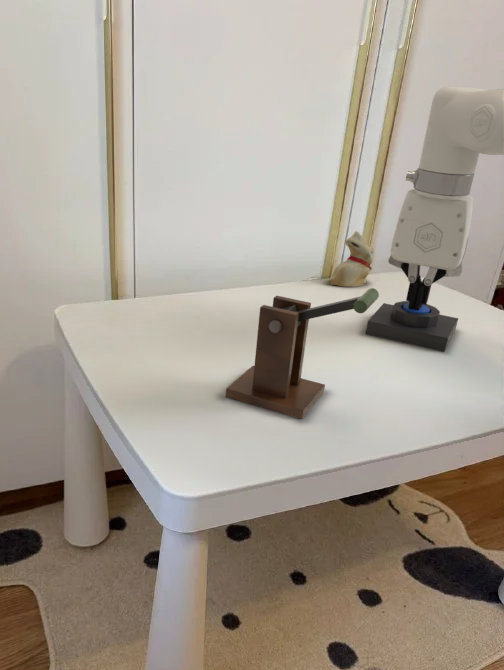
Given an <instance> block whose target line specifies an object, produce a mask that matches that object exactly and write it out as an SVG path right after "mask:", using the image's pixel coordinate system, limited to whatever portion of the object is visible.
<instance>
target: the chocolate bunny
mask: <svg viewBox="0 0 504 670" xmlns="http://www.w3.org/2000/svg"><path fill="white" fill-rule="evenodd" d="M345 245H346V247H348V249H349V252H350V254H349V257H347V259H346V260H345V261H343V262H341V263H339V264H338V265H337V266H335V268H334V270H333V272H332V274H331V276H330V278H329V285H331V286H337V287H343V288H344V287H345V288H346V287H348V288H350V287H352V288H354V287H361V286H364V285H366V284H367V277H368V276H369V273H370V271H372V269H373V268H372V267H371V265H372V264H373V262H374V255H375V250H374V248H373V247H372V246H370V245H368V244H367V242H366V241H365V239H364V237H363V235H361V233H360V232H359V231H357V230H355V231H354V232H353V234H352V235H351V236H350V237H348V238H347V239H346V240H345Z"/></svg>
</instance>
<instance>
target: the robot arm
mask: <svg viewBox="0 0 504 670" xmlns="http://www.w3.org/2000/svg"><path fill="white" fill-rule="evenodd" d="M480 154H482V155H488V156H500V155H504V88H499V89H498V88H497V89H483V88H479V87H477V88H476V87H467V86H443V87H440V88H439V89H437V91H436V92H435V93H434V95H433V98H432V101H431V105H430V110H429V116H428V121H427V125H426V130H425V135H424V141H423V145H422V149H421V154H420V159H419V164H418V168H417V169H416V170H413V171H410V170H408V171H407V173H406V176H405V181H406V182H410V183H412V185H413V189H410V190H407V193H406V194H405V197H404V200H403V202H402V206H401V208H400V211H399V215H398V218H397V222H396V226H395V230H394V233H393V238H392V241H391V247H390V256H389V258H388V264H390V265H392V266H394V267H396V268H398V269H401V271H402V272H403V273H404V275H405V276H406V278H407V281H408V282H409V285H408V290H407V294H406V299H405V301H410V303H409V307H408V308H410V309H412V308H414V309H415V310H419V309H420V308H421V307H422V305H423V304H425V305H426V304H428V302H429V298H430V293H431V288H432V285H433V284H434V283H436V282H438V281H439V280H440V279H443V278H445V277H446V278H449V277H450V278H452V277H460V276H461V275H462V273H463V260H464V257H465V255H466V251H467V247H468V242H469V236H470V231H471V225H472V219H473V208H474V197H473V196H471V195H470V194H471V189H472V185H473V181H474V177H475V173H476V169H477V165H478V162H479V161H478V160H479V156H480ZM421 267H426V268H428V270H427V272H426V275H425V277H424V278H423V280H422V276H421Z"/></svg>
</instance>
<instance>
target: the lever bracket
mask: <svg viewBox="0 0 504 670" xmlns="http://www.w3.org/2000/svg"><path fill="white" fill-rule="evenodd" d="M272 299H273V300H272V306H271V305H266V304H263V305H261V306H260V307H259V316H258V326H257V336H256V345H255V347H256V348H255V355H254V365H251V366H250V367H249V368H248V369H247V370H246V371H245V372H244V373H242V374H241V375H240V376H239V377H238V378H236V379H234V381H233V382H232V383H230V384H229V385H228V386H227V387H226V389H225V397H226V398H228V399H232V400H236V401H239V402H241V403H242V402H243V403H246V404H249V405H252V406H256V407H259V408H263V409H266V410H269V411H273V412H277V413H279V414H284V415H286V416H290V417H293V418H296V419H297V418H298V419H301V420H303V418H304V417H306V415H307V414H308V412H309V411H310V410H311V409H312V408H313V406H314V405H315V404H316V403H317V401H319V399H320V398H321V397H322V395H324V393H325V388H326V385H325V384H324V383H321V382H317V381H313V380H309V379H307V378H302V372H303V365H304V358H305V351H306V344H307V343H306V342H307V336H308V329H309V322H310V319H307V320H303V321H300V322H301V324H300V325H299V326H298V327H297V325H298V317H299V313H298V312H294V311H289V310H285V309H280V308H284V307H288V306H292V305H295V306H296V309H297V311H300V310H305V309H309V308H312V302H309V301H304V300H299V299H295V298H290V297H286V296H282V295H275V296H274V297H273V298H272Z"/></svg>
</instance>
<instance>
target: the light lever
mask: <svg viewBox="0 0 504 670" xmlns="http://www.w3.org/2000/svg"><path fill="white" fill-rule="evenodd" d="M379 296H380V294H379V291H378V289H376V288H373V287H371V288H368V289H367V290H366V291H365V292H364V293H363V294H362V295H360V296H356V297H352V298H348V299H344V300H343V299H342V300H339V301H335V302H331V303H327V304H323V305H318V306H317V305H316V306H313V307H310V308H309V309H305V310H300V311H297V309H296V306H295V305H292V306H288V307H284V308H280V309H285V310H289V311H294V312H298V313H299V317H298V325H297V327H298V326H299V325H300V324H301V322H300V321H303V320H307V319H309V320H311V319H314V318H319V317H324V316H328V315H333V314H337V313H342V312H346V311H352V310H354V312H356V313H357V314H364V313H366V312H367V310H368V309H369V308H370V307H371V306H372V305H373V304H374V303H375V302H376V301H377V300H378V299H379Z"/></svg>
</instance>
